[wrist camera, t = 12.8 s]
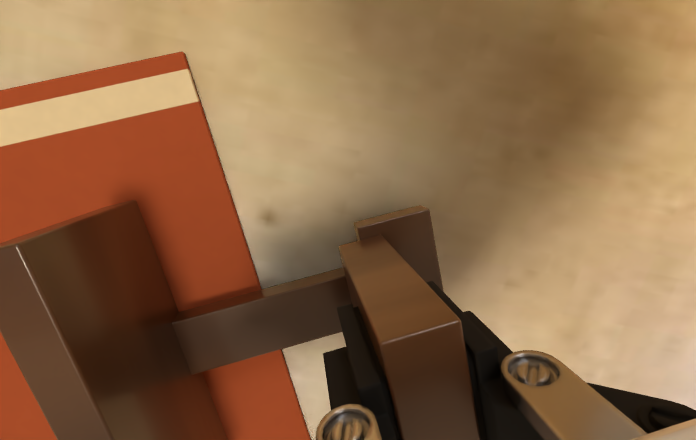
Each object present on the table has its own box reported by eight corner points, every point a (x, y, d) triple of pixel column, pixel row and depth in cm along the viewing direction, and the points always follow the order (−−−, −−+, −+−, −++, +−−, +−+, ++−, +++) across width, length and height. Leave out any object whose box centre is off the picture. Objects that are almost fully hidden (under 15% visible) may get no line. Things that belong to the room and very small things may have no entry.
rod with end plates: (104, 206, 13) (-159, 297, 6) (407, 133, 14) (539, 125, 7) (206, 457, 16) (126, 744, 9) (452, 380, 17) (579, 573, 10)
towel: (-268, 150, 12) (-283, 150, 12) (184, 53, 13) (182, 50, 13) (31, 596, 17) (26, 605, 17) (328, 493, 19) (329, 499, 18)
